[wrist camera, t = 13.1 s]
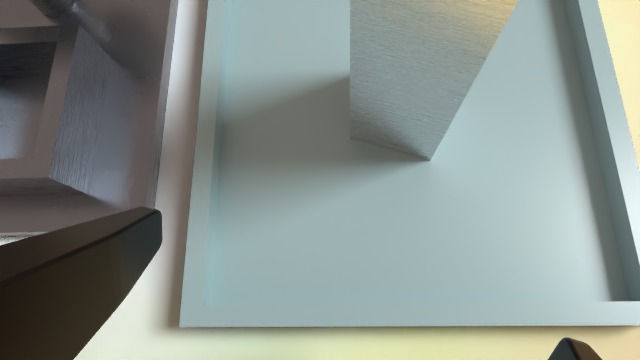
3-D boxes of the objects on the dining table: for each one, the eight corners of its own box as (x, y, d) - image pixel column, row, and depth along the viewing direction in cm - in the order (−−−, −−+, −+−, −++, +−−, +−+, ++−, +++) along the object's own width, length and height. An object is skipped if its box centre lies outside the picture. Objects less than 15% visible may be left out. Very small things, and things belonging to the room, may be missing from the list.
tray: (648, 323, 16) (677, 325, 14) (193, 325, 17) (178, 327, 15) (563, -45, 21) (579, -71, 20) (221, -26, 22) (212, -49, 21)
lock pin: (430, 160, 18) (598, -147, 6) (349, 138, 18) (350, -184, 6) (450, 88, 19) (629, -303, 7) (372, 69, 19) (411, -324, 7)
